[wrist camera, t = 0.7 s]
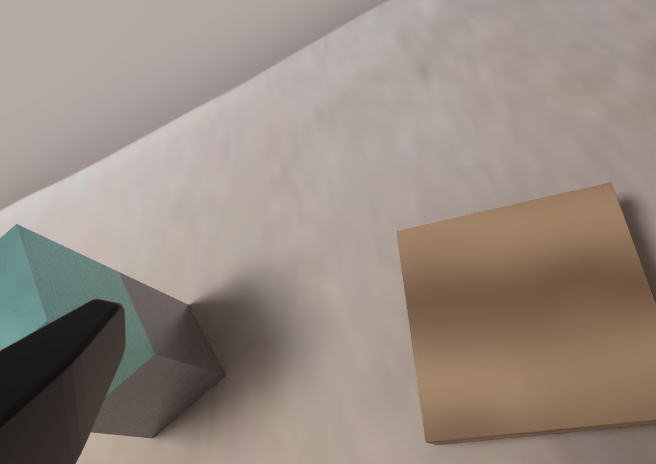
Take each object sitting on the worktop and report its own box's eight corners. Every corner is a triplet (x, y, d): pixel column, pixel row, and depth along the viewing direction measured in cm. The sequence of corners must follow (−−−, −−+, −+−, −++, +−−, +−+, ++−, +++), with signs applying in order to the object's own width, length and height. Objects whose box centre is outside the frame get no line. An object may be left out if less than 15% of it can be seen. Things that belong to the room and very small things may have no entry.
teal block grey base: (225, 375, 26) (47, 320, 17) (151, 438, 26) (-65, 416, 17) (188, 304, 29) (16, 224, 20) (121, 361, 29) (-80, 307, 20)
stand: (684, 421, 19) (697, 415, 17) (436, 444, 21) (425, 442, 20) (607, 204, 23) (611, 182, 21) (407, 247, 25) (396, 231, 24)
